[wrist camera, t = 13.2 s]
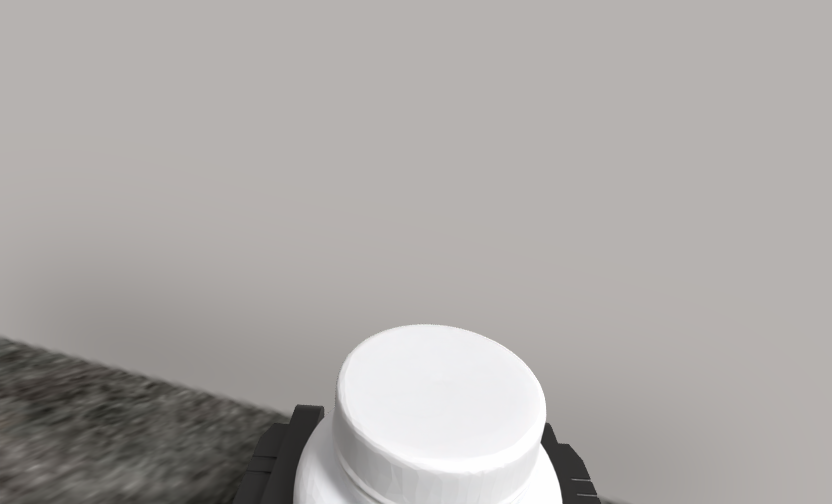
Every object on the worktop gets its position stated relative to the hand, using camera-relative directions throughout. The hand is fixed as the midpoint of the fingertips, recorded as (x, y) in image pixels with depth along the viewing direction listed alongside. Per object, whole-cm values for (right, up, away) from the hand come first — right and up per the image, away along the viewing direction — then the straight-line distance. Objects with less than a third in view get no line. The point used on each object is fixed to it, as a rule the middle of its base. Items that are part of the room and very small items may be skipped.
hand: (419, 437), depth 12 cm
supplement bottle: (-1, -7, 0) cm, 7 cm away
